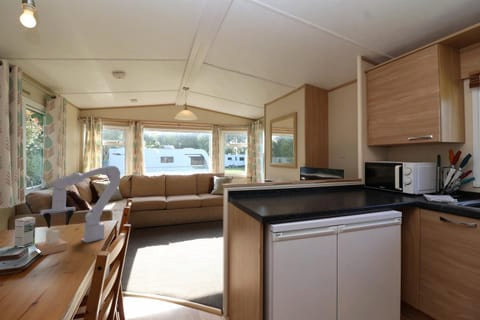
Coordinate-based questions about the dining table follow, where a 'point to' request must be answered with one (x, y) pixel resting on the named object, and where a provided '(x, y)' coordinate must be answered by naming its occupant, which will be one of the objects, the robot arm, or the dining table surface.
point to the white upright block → (52, 237)
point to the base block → (51, 247)
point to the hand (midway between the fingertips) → (58, 226)
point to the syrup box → (24, 231)
